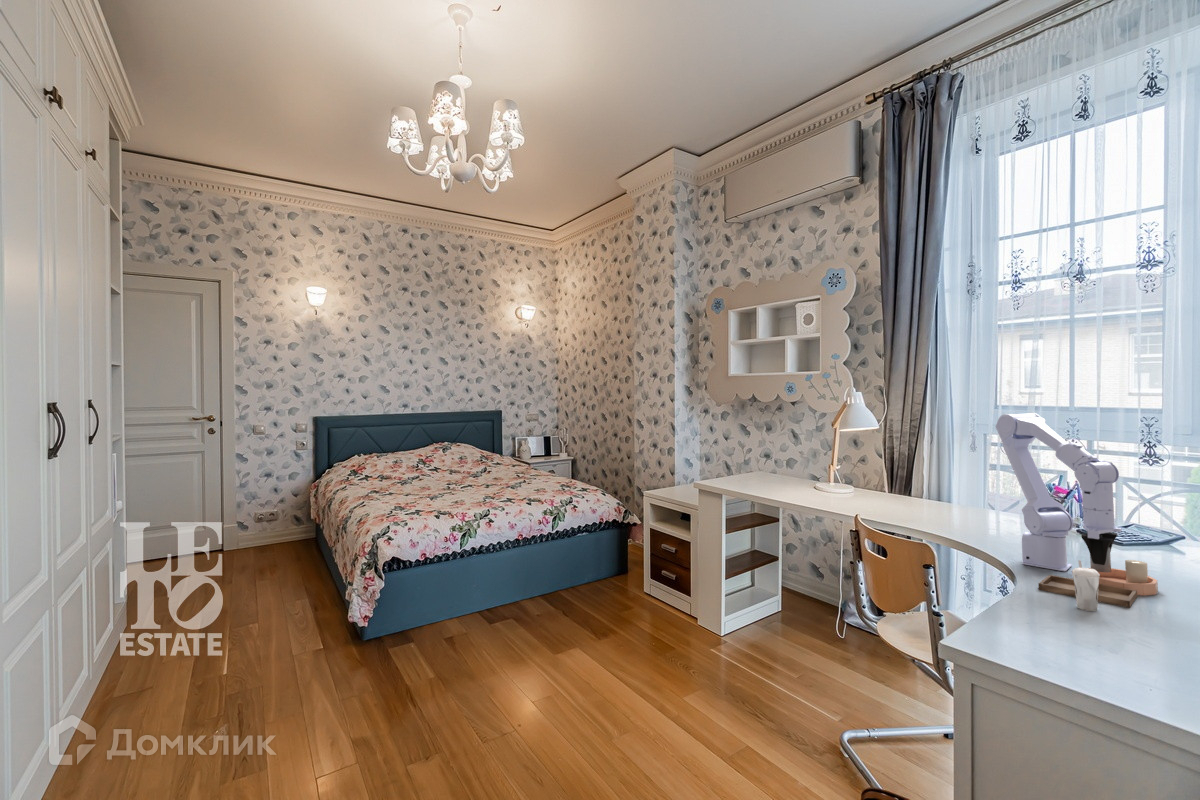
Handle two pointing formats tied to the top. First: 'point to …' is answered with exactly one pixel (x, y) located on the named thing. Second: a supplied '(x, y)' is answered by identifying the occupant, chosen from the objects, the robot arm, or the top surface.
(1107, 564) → the grey cylinder
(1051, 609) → the top surface
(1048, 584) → the tray
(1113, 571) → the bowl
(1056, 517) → the robot arm
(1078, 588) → the milkshake
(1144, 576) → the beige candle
